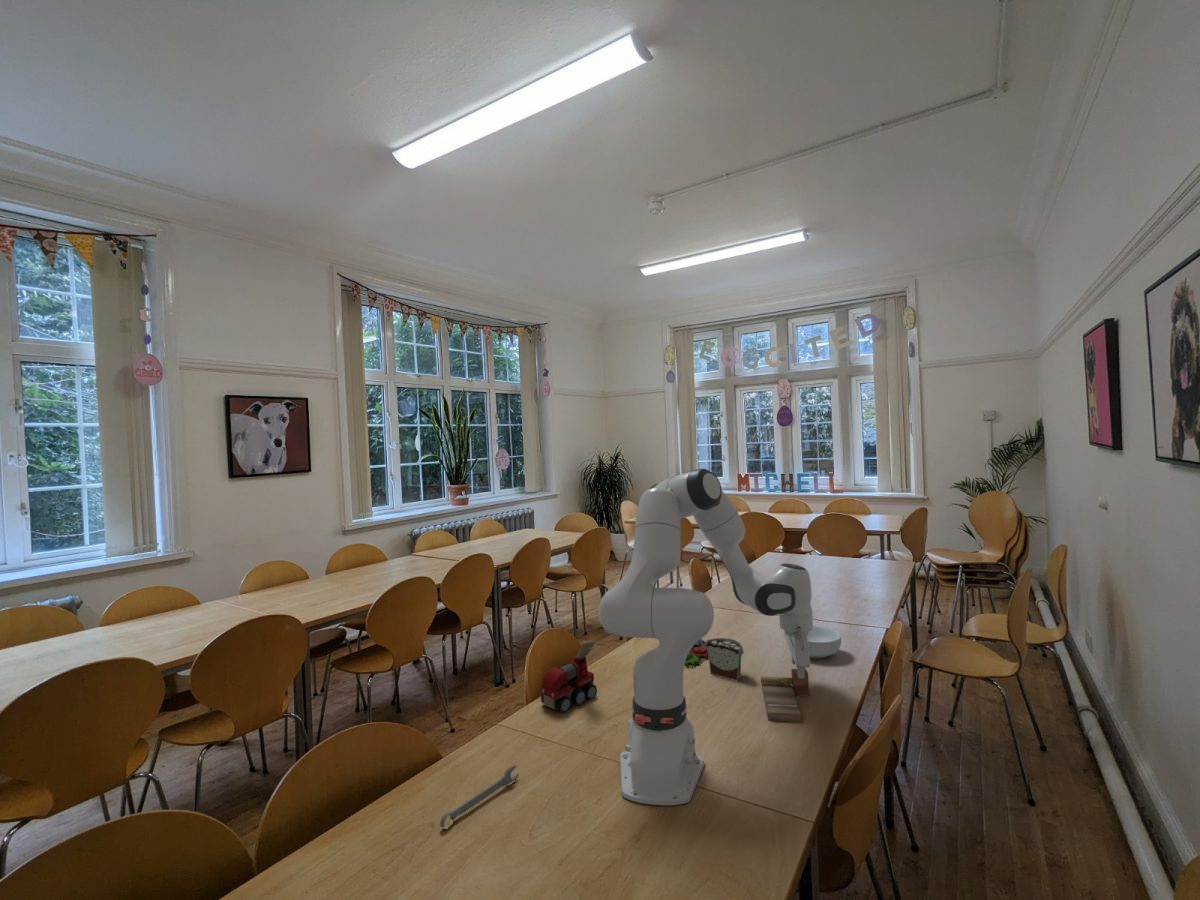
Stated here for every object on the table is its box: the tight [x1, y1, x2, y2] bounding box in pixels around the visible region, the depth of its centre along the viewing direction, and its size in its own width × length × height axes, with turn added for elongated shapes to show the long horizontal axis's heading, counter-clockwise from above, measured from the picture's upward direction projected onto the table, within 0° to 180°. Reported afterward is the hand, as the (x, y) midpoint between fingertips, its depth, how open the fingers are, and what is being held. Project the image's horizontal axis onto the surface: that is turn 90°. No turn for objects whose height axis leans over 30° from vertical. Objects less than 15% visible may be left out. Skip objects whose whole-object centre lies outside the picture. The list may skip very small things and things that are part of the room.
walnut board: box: [761, 683, 802, 723], centre depth 150 cm, size 20×8×2 cm, turn 168°
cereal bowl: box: [806, 625, 842, 659], centre depth 183 cm, size 17×17×7 cm
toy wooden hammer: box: [760, 668, 810, 697], centre depth 156 cm, size 4×13×6 cm, turn 78°
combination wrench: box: [439, 764, 519, 827], centre depth 112 cm, size 4×1×20 cm
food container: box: [705, 637, 745, 682], centre depth 170 cm, size 12×6×10 cm, turn 47°
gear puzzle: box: [684, 638, 709, 669], centre depth 185 cm, size 31×16×4 cm, turn 138°
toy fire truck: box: [540, 640, 598, 714], centre depth 155 cm, size 11×16×18 cm
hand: (798, 670), depth 156 cm, fingers open, 8 cm apart
